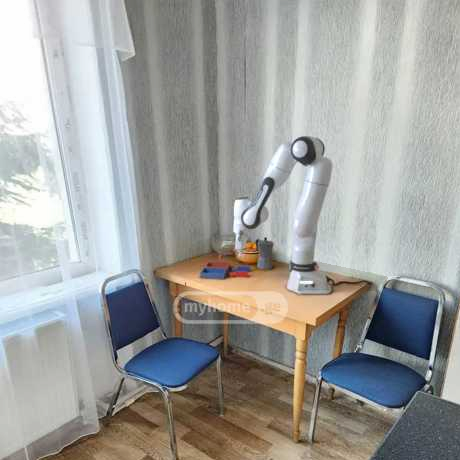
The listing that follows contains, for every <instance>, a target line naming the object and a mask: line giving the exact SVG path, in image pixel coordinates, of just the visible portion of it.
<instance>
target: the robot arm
mask: <svg viewBox="0 0 460 460" xmlns="http://www.w3.org/2000/svg"><path fill="white" fill-rule="evenodd" d="M325 150H326V147H325V144H324V142H323V141H322V140H321V139H320V138H318V137H314V136H311V135H302V136H299V137H297V138H296V139H294V140H293V142H283V143H281V144H280V145H279V147H278V148H277V150H276V151H275V152H274V155H273V156H272V158H271V160H270V162H269V164H268V167H267V169H266V172H265V174H264V177H263V179H262V181H261V183H260V185H259V186H258V189H257V191H256V193H255V194H254V197H253V198H252V199H251V197H250V196H242V197H237V198H236V199H235V200H234V204H233V227H232V229H233V230H232V231H233V233H235V245H234V249H235V251H237V257H238V258H241V257H242V254H243V253H242V252H245V245H246V244H247V241H248V237H249V233H250V232H251V230H254V229H256V228H258V227H259V226H260V225H262V224H264V223H265V222H266V221H267V220H268V219H269V215H270V213H269V209H268V208H267V207H266V204H267V202H268V201H269V198H270V197H271V195H272V194H273V193H274V192H275V191H277V190H278V189H279V188H281V187H282V186H284V185H285V183H286V182H287V180H289V177H290V176H291V174H292V172H293V170H294V168H295V166H296V164H297V163H299V164H301V165H302V166H304V167H307V172H306V175H305V178H304V183H303V187H302V190H301V193H300V197H299V200H298V203H297V207H296V210H295V213H294V217H293V220H292V224H291V227H292V231H293V238H292V247H291V260H290V262H289V277H288V280H287V284H286V289H287V290H289V291H292V292H294V293H296V294H298V295H328V294H330V293H331V292H332V286H331V284H330V282H332V285H333V286H338V285H340V284H349V285H355V284H356V285H357V284H360V283H367V284H368V285H369V284H371V283H370V281H368V280H366V279H364V280H363V279H362V280H359V281H345V280H342V281H338V282H337V283H335V280H334V279H332V278H330V276H328V275H325V274H324V273H323V272H322V271H321V270H319V267H320V266H319V265H318V262H317V261H315V253H316V252H315V251H316V241H317V234H318V233H317V232H318V224H319V219H320V216H321V212H322V209H323V205H324V203H325V199H326V195H327V193H328V189H329V186H330V182H331V178H332V174H333V173H332V172H333V162H332V160H331V159H330V158H329V157H327V156H324V155H325V152H326V151H325Z"/></svg>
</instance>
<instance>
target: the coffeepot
mask: <svg viewBox="0 0 460 460" xmlns="http://www.w3.org/2000/svg"><path fill="white" fill-rule="evenodd" d="M254 243H255V247H256V252H257V251H258V252H259V253H258V252H257V253H258V259H257V264H256V268H257V269H259V270H262V271H263V270H264V271H267V270H271V269H272V268H273V260H272V254H273V250H274V249H273V248H274V242H273V241H272V240H268V237H265V236H264V238H263V240H262V239H259V238H257V239H256V240H255V242H254Z"/></svg>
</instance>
